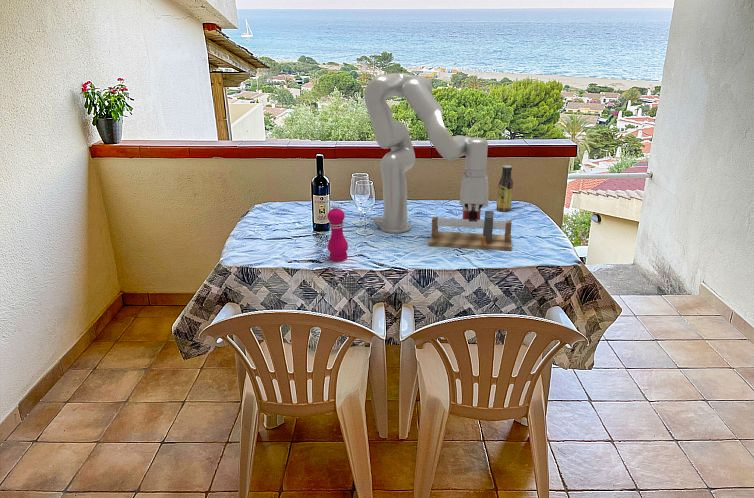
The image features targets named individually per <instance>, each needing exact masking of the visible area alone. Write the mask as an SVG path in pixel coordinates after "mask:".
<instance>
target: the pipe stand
mask: <svg viewBox="0 0 754 498" xmlns="http://www.w3.org/2000/svg"><path fill="white" fill-rule="evenodd" d="M438 218H439V216H433V217H432V219H431V235H430V238H429V240H428V246H429V247H442V248H443V247H444V248H457V249H458V248H459V249H471V250H472V249H475V250H492V251H508V252H509V251H510V252H512V248H513V247H512V246H513V245H512V242H513V241H512V222H513V221H512V220H509V219H508V220H507V219H506V220H505V221H506V228H505V231H504V234H493V233H492V239H488V238H485V237H484V228H482V229H483V230H482V233H476V232H475V233H474V232H459V231H458V232H457V231H456V232H455V231H440V230H439V226H437V220H438Z"/></svg>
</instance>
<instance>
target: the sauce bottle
mask: <svg viewBox="0 0 754 498" xmlns="http://www.w3.org/2000/svg"><path fill="white" fill-rule="evenodd" d="M512 170H513V166H512V165H509V164H507V165H503V166H502V174H501V178H500V179H499V182H498V184H497V198H496V210H497V211H500V212H509V211H510V210H511V206H512V199H513V189H514V188H513V185H514V181H513V178H512Z"/></svg>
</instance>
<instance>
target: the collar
mask: <svg viewBox="0 0 754 498" xmlns="http://www.w3.org/2000/svg"><path fill="white" fill-rule="evenodd" d="M484 212H485V213H484V220H485V221H484V237H485V238H488V239H492V234H493V230H494V229H493V221H494V213H495V212H494V210H485V211H484Z"/></svg>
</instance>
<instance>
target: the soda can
mask: <svg viewBox="0 0 754 498" xmlns="http://www.w3.org/2000/svg"><path fill="white" fill-rule="evenodd" d="M475 206H476V204H472V208H473V211H474V208H475ZM481 211H482V207H481V208H480V209H479V210H478V211H477V219H475V220H481V217H482V216H481V215H482V213H481ZM461 219H469V220H471V218H469V210H468V209H467V208H466V207H465V206H463V205H462V218H461Z"/></svg>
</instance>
